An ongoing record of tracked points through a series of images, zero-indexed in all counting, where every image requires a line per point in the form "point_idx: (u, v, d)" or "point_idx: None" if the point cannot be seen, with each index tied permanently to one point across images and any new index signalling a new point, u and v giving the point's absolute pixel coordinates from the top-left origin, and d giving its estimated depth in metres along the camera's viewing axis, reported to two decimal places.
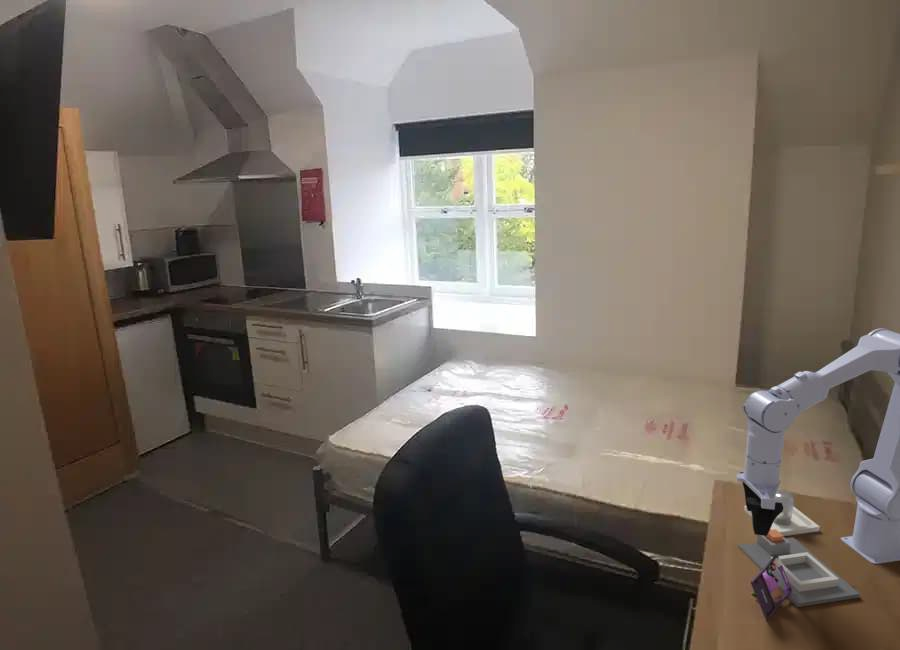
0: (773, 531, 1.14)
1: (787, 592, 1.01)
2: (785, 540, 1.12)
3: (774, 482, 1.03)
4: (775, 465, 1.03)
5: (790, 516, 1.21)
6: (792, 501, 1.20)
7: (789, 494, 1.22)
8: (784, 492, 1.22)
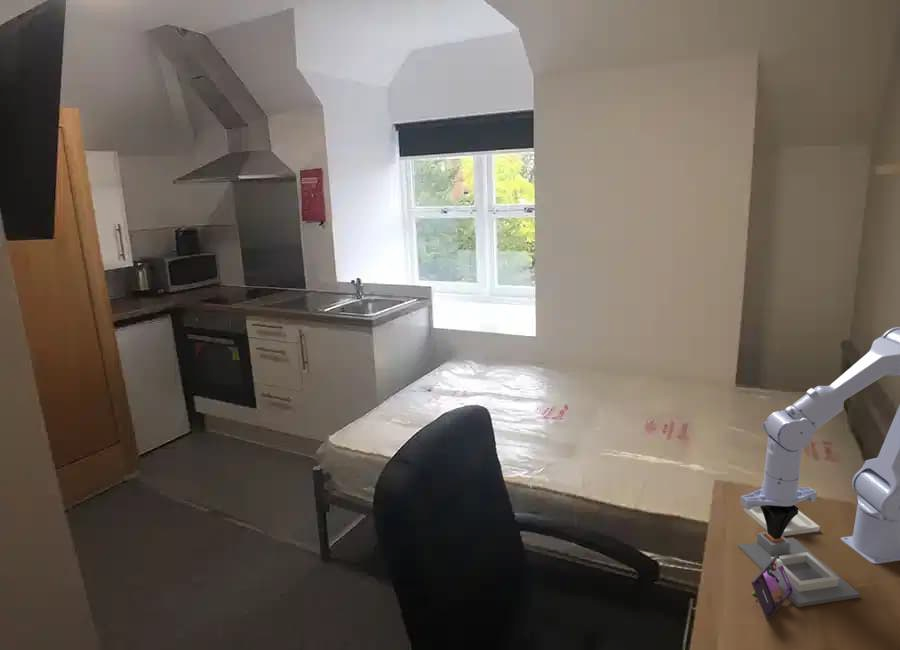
0: None
1: (788, 592, 1.01)
2: (785, 540, 1.12)
3: (774, 496, 1.09)
4: (775, 480, 1.08)
5: None
6: None
7: None
8: None
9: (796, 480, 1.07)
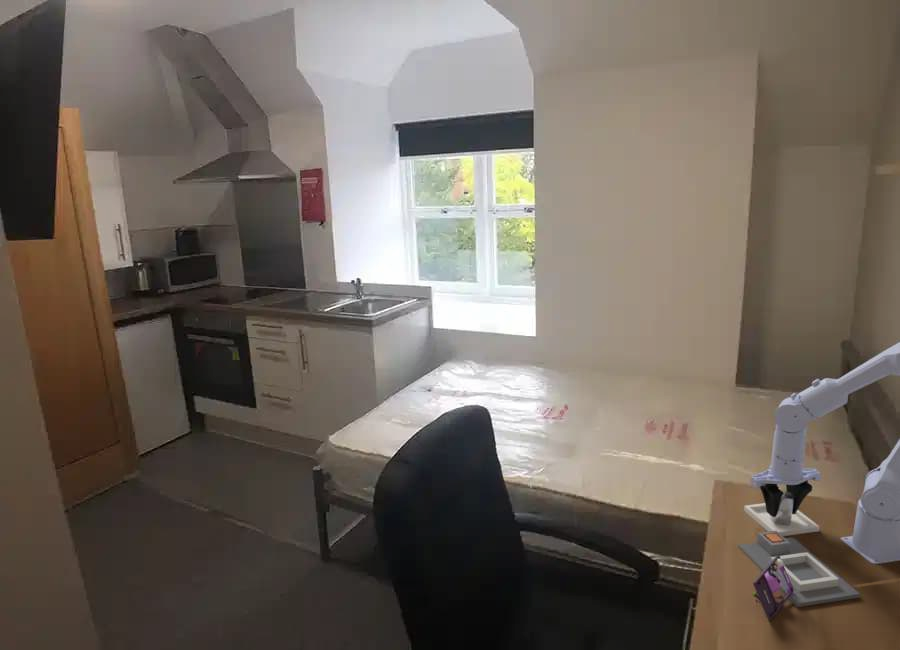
0: (773, 535, 1.14)
1: (789, 592, 1.01)
2: (785, 540, 1.12)
3: (781, 476, 1.18)
4: (782, 461, 1.18)
5: (790, 516, 1.21)
6: (792, 501, 1.20)
7: (789, 494, 1.22)
8: (784, 492, 1.22)
9: (801, 460, 1.17)
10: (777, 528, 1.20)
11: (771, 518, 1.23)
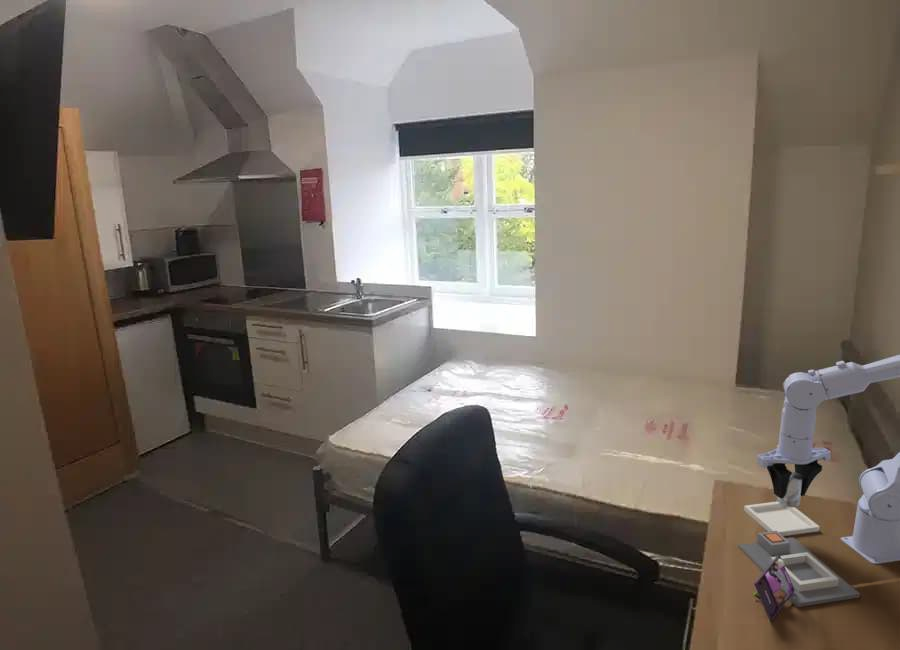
0: (773, 535, 1.14)
1: (790, 592, 1.01)
2: (785, 540, 1.12)
3: (789, 455, 1.13)
4: (790, 439, 1.12)
5: (798, 497, 1.16)
6: (801, 482, 1.15)
7: (798, 475, 1.16)
8: (792, 473, 1.17)
9: (811, 439, 1.11)
10: (777, 528, 1.20)
11: (778, 500, 1.18)
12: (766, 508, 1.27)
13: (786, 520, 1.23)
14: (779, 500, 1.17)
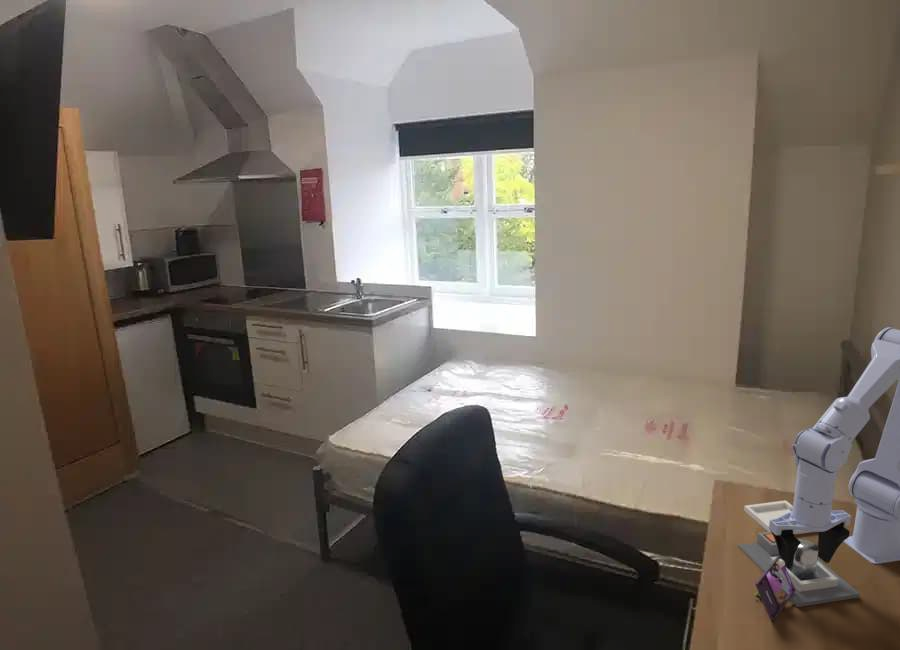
0: None
1: (790, 592, 1.01)
2: None
3: (806, 521, 1.01)
4: (807, 504, 1.00)
5: (814, 571, 1.04)
6: (816, 554, 1.03)
7: (813, 545, 1.05)
8: (807, 542, 1.06)
9: (830, 504, 1.00)
10: None
11: (791, 571, 1.06)
12: (766, 508, 1.27)
13: None
14: (792, 572, 1.06)
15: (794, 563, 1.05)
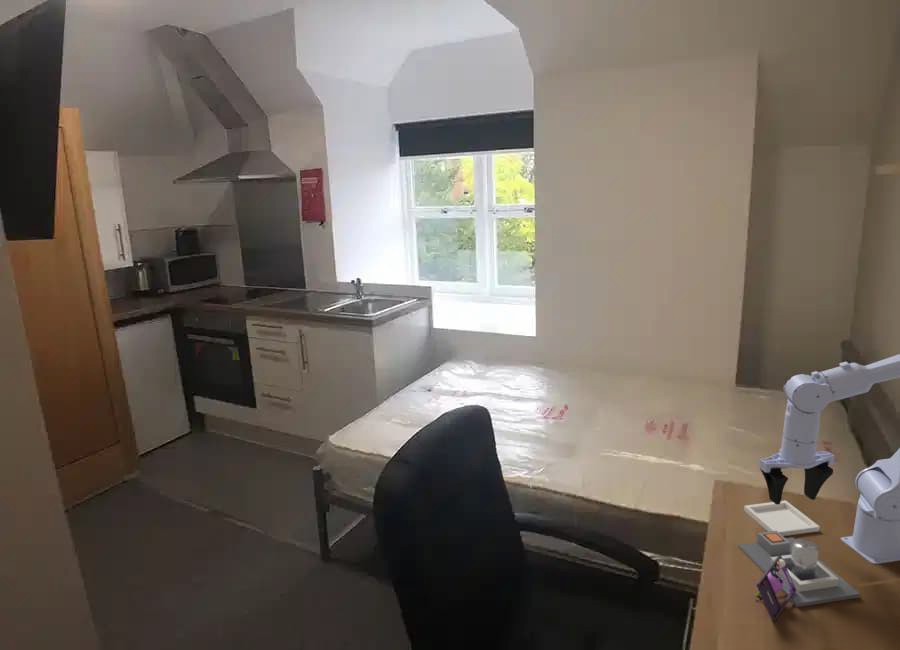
0: (773, 535, 1.14)
1: (791, 592, 1.01)
2: (785, 540, 1.12)
3: (792, 459, 1.10)
4: (794, 443, 1.09)
5: (814, 571, 1.04)
6: (816, 554, 1.03)
7: (813, 545, 1.05)
8: (807, 542, 1.06)
9: (815, 442, 1.09)
10: (777, 528, 1.20)
11: (791, 571, 1.06)
12: (766, 508, 1.27)
13: (786, 520, 1.23)
14: (792, 572, 1.06)
15: (794, 563, 1.05)
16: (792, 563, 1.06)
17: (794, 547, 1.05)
